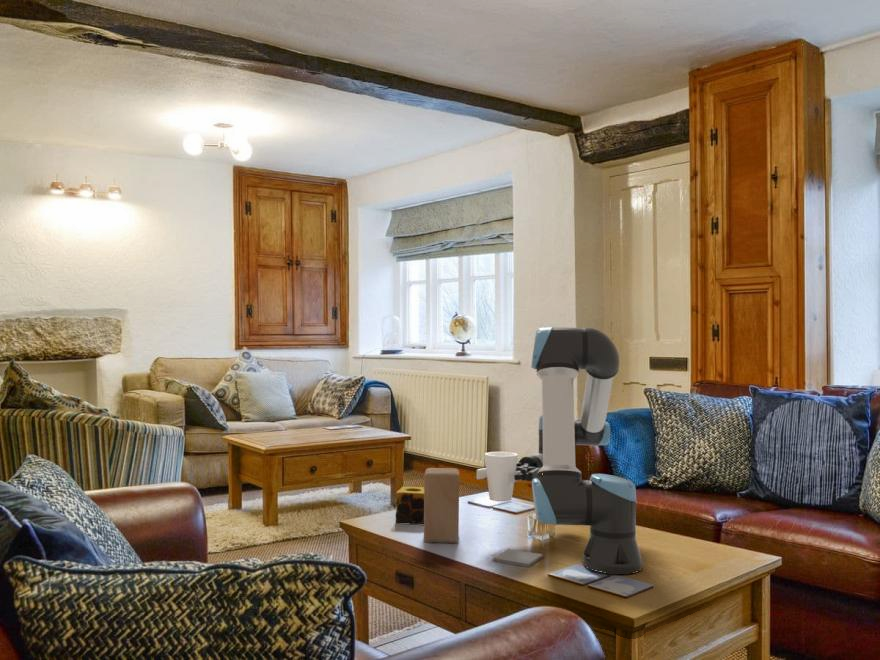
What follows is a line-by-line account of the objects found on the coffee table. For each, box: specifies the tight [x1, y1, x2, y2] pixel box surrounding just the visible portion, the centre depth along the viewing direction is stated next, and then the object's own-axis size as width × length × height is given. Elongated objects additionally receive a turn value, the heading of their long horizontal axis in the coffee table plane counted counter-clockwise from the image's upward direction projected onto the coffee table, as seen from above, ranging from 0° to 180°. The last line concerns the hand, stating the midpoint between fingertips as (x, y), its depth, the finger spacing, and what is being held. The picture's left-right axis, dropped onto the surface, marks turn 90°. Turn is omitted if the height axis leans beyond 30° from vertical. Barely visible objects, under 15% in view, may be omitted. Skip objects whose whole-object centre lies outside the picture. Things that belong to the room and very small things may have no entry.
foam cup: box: [484, 451, 519, 502], centre depth 223 cm, size 10×9×13 cm
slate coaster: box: [493, 548, 544, 568], centre depth 207 cm, size 10×10×1 cm
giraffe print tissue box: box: [395, 486, 424, 525], centre depth 247 cm, size 10×10×10 cm
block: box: [423, 467, 460, 544], centre depth 226 cm, size 10×10×20 cm
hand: (492, 476), depth 219 cm, fingers closed on foam cup, 9 cm apart
